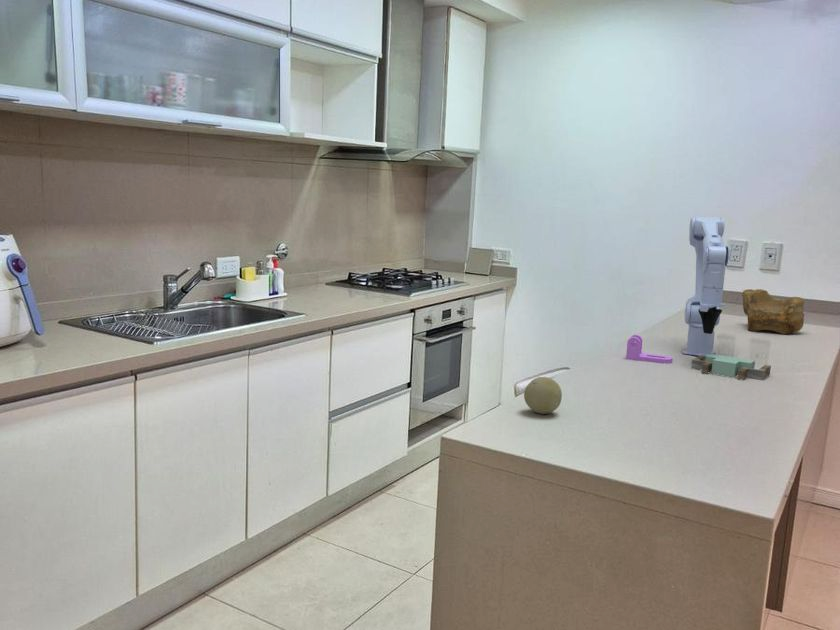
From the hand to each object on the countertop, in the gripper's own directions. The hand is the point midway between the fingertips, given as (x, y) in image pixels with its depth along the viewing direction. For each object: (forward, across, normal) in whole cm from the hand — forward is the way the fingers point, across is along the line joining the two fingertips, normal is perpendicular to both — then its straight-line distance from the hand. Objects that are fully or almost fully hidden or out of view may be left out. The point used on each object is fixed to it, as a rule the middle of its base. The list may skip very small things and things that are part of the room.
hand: (707, 333), depth 208 cm
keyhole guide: (+9, -5, -8) cm, 14 cm away
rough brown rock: (+10, +77, 0) cm, 78 cm away
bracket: (+10, -6, +14) cm, 19 cm away
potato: (+10, -77, +13) cm, 79 cm away
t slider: (+9, -6, -8) cm, 14 cm away
